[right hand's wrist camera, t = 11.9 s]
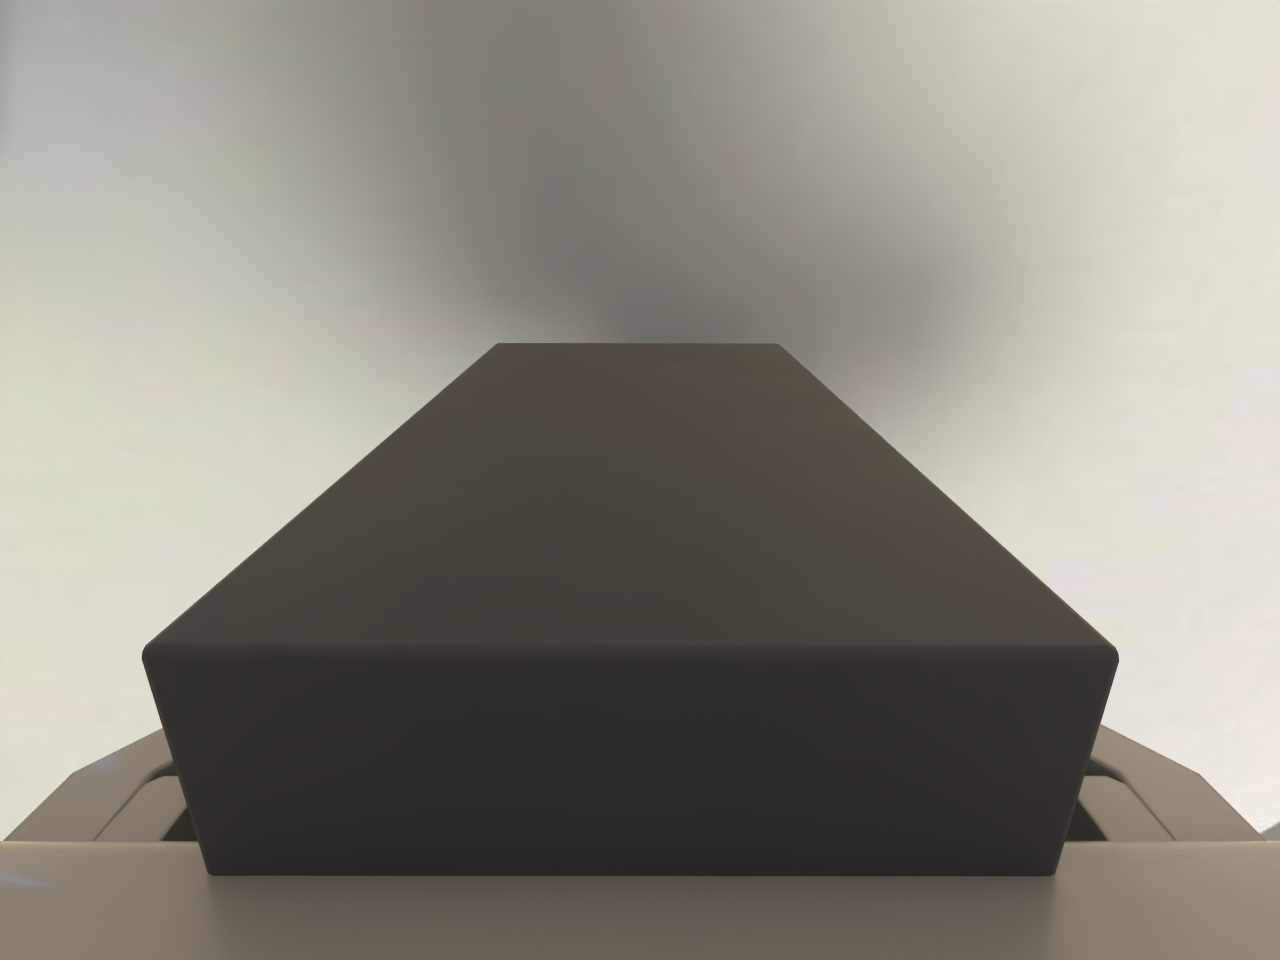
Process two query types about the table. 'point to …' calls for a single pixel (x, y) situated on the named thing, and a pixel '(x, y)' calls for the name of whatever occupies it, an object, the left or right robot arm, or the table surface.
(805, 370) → the box
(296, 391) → the table surface
